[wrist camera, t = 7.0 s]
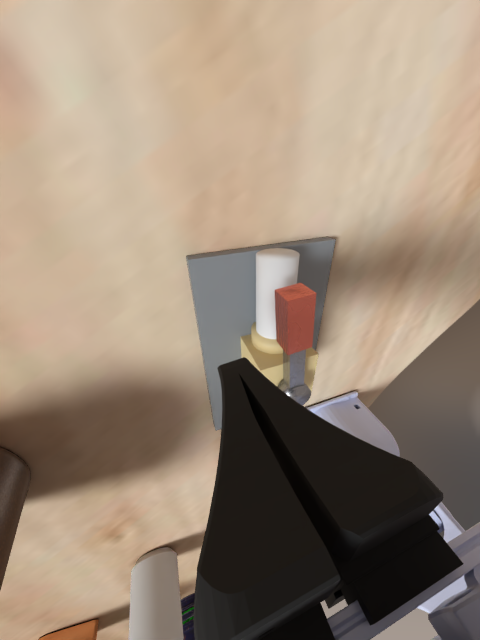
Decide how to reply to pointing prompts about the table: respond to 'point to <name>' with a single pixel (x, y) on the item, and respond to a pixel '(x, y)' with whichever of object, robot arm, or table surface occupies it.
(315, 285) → the board
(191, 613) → the storage jar
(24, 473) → the plant pot
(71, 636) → the whiskey bottle
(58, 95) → the table surface
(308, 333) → the lever
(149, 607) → the can
